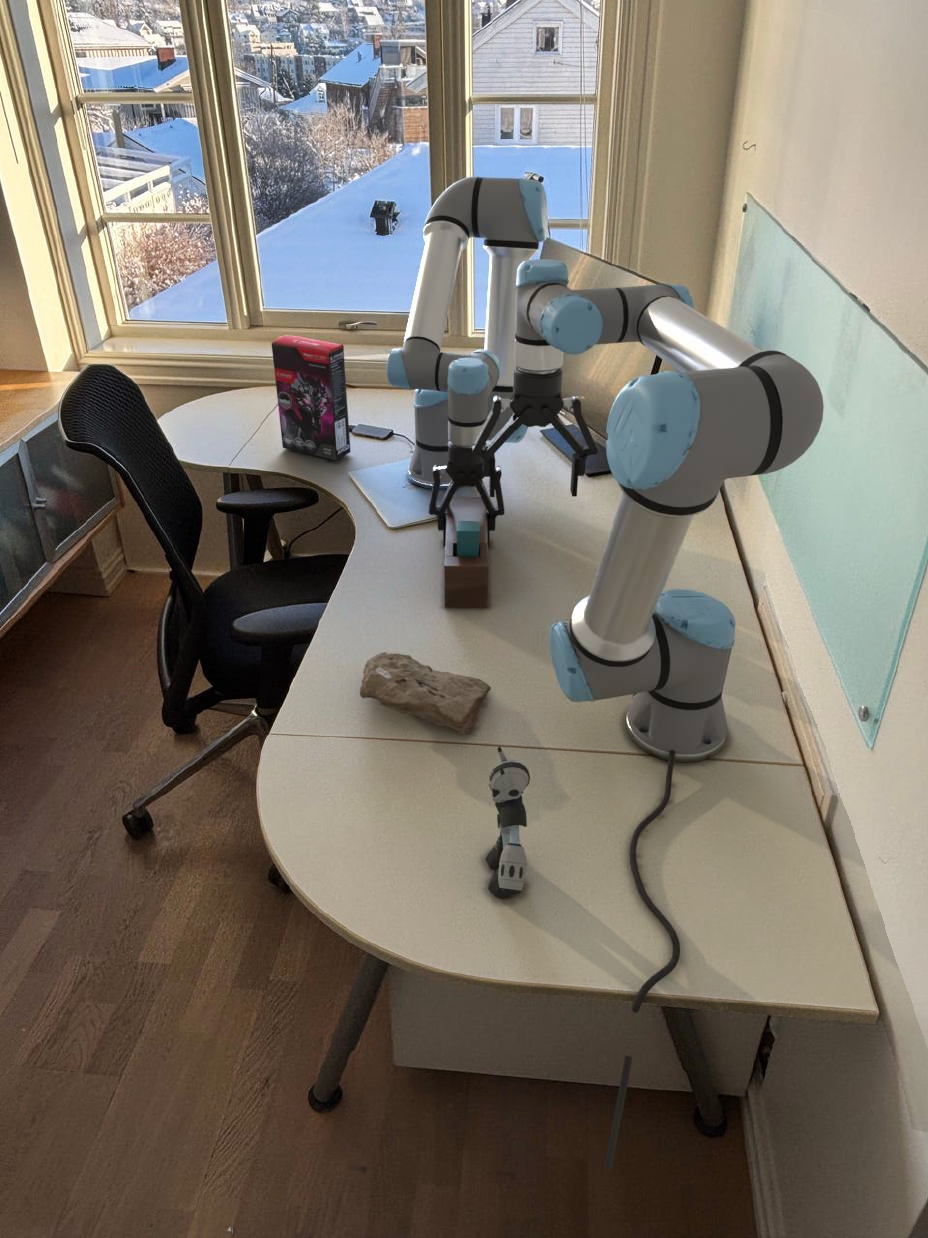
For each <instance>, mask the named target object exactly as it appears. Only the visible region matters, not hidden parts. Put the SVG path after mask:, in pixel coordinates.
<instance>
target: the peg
mask: <svg viewBox="0 0 928 1238" xmlns="http://www.w3.org/2000/svg"><path fill="white" fill-rule="evenodd" d="M457 557H479V521H457Z"/></svg>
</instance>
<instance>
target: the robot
mask: <svg viewBox="0 0 928 1238" xmlns="http://www.w3.org/2000/svg"><path fill="white" fill-rule="evenodd" d="M497 752H498V755H499V758H500V762H499V763H498V764H497V765H496V766H494V767H493V769H491V772H490V773H489V775H488V788H489V790H490V791H491V800H492V801H493V802H494V806H495V808H496V810H497V812H498V814H496V820H497V828H498V829H499V836H498V838H497V840H496V842H495V844H494V845H493V846H492V848H491V850H490V851H489V852H488V854H487V855H486V857H485V861H486V863H487V865H488V867H489V868H490V869H491V870H493V871H495V872H493V874H492V876H491V878H490V880H489V883H488V886H487V890H488V891H490V893H491V894H492V895H493V896H494V897H495V898H500V899H509V898H512V897H514V896H516V895H518V894H520V893H522V891H523V888H524V884H525V878H526V877H525V876H526V869H527V856H526V851H525V847H524V846H523V845H522V844H521V840H520V826H521V827H523V828H527V827H528V820H527V810H526V807H525V804H524V803H523V796H522V794H524V791H525V789H526V788H528V786H529V785H530V781H531V775H530V771H529V769H528V767H527V766H526V765H524V764H522V763H521V762H520V761H517V760H515V759H507V756H506V755H505V753H504V751H503V749H502V747H501V746H498V747H497Z"/></svg>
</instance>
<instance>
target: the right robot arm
mask: <svg viewBox="0 0 928 1238" xmlns="http://www.w3.org/2000/svg"><path fill="white" fill-rule="evenodd" d="M569 283H570V280H569V269H568V265H567V264H566V263H565V262H563V261H561V260H557V259H550V258H549V259H548V258H547V259H546V258H537V259H536V258H535V259H531V260H528V261H525V262H523V263H521V264H520V265H519V267H518V270H517V280H516V286H515V290H516V311H515V350H514V364H515V365H516V366H517V367H516V368H515V369H514V380H513V395H512V398H511V399H505V398H500V396H498V395H496V396H494V398H493V404H492V409H491V411H490V413H489V415H488V417H487V419H486V421H485V423H484V424H483V426H482V428H481V430H480V432H479V434H478V436H477V438H476V440H475V441H474V443H473V445H472V452H473V455H474V456H480V457H482V458H483V475H484V478H489V485H488V486H489V490H488V493H489V496H490V498H496V493H495V468H496V456H495V455H496V453H497V451H499V449H500V448H501V447H503V445H504V444H505V443H504V442H505V441H506V440H507V439H508V438H509V437H510V436H511V435H512V434H513V433H514V431H516V430H517V429H518V428H519V427H520V426H521V425H522V424H523V425H525V426H526V427H528V428H533V427H540V428H546V427H547V426H549V425H551V426H552V427H553V429H555V430H556V431H557V432H558V433H559V434H560V436H561V437H562V438H563V439H564V440H565V442H566V443H567V444H568V445H569V446H570V448H571V449H572V450H573V451H574V452H572V457H571V474H570V487H569V488H570V495H571V497H574V498H575V497H578V485H579V484H578V483H579V477H583V476H585V473H586V463H587V462H586V461H587V459H588V457H589V456H591V455H593V456H595V455H597V454H598V452H599V450H598V447H597V444H596V442H595V439H594V437H593V435H592V432H591V431H590V428H589V426H588V424H587V421H586V420H585V417H584V415H583V412H582V402H581V399H580V397H579V395H577V394H572V396H571V397H566V398H563V397H562V384H563V369H562V368H561V367H562V366H563V364H564V354H567V355H581V354H583V353H586V352H587V351H589V350H590V349H592V348H594V347H595V346H596V345H609V344H621V343H622V344H623V343H639V344H641V345H643V346H644V347H645V348H646V349H648V351H650V352H652V353H653V354H655V355H656V356H657V357H659V358H660V359H661V360H662V361H664V363H666V364H668V365H669V366H670V367H672V368H673V369H674V370H664V371H660V372H658V373H656V374H649V375H642V376H638V377H635V378H634V379H631V380H630V381H629V382H628V383H627V384H625V385H624V386H623V387H622V388H621V390H620V391H619V392H618V394H617V395H616V397H615V399H614V401H613V403H612V406H611V408H610V411H609V414H608V418H607V423H606V431H605V432H606V433H607V436H608V437H607V440H606V441H605V451H606V452H605V453H606V459H607V463H608V467H609V470H610V472H611V474H612V476H613V478H614V479H615V480H616V482H617V485H618V486H619V488H620V490H621V491H622V493H621V495H620V500H619V502H618V506H617V508H616V512H615V515H614V517H613V521H612V525H611V527H610V530H609V534H608V537H607V541H606V543H605V546H604V550H603V552H602V556H601V559H600V563H599V565H598V569H597V572H596V574H595V578H594V581H593V585H592V588H591V589H590V590H591V591H590V594H589V595H587V596H586V597H584V598H582V599H581V600H580V601H579V602H578V603H577V604H576V605H575V607H574V609H573V611H572V613H571V616H570V620H567V621H564V620H560V621H559V622H555V623H552V624H551V626H550V628H549V634H548V643H549V644H548V645H549V651H550V656H551V657H550V658H551V664H552V668H553V671H554V674H555V677H556V680H557V683H558V685H559V688H560V690H561V692H562V693H563V695H564V697H566V698H567V700H569V701H571V702H573V703H582V702H583V703H584V702H591V703H594V702H596V701H601V700H607V699H612V698H617V697H624V696H629V695H632V697H631V698H633V699H632V701H631V702H630V704H629V706H628V708H627V711H626V719H625V728H626V732H627V734H628V736H629V738H630V739H631V741H632V742H634V744H636V745H637V746H638V747H639V748H640V749H641V750H643V751H645V752H646V753H648V754H650V755H651V756H654V757H656V758H659V759H662V760H666V761H667V767H666V774H665V775H666V776H665V787H664V788H665V789H664V794H663V797H662V799H661V802H660V803H659V805H658V806H657V807H656V808H655V809H654V810H653V811H652V812H651V813H650V814H649V815H647V816H646V817H645V818H644V819H642V821H640V823H639V824H638V825H637V826H636V828H635V830H634V831H633V834H632V837H631V841H630V845H629V863H630V864H629V865H630V869H631V873H632V877H633V880H634V884H635V886H636V890H637V891H638V892H637V893H638V894H639V896H640V898H641V900H642V901H643V902H644V904H645V906H646V907H647V908H648V909H649V910H650V912H651V913H652V914H653V915H654V916H655V917H656V919H657V920H658V921H659V922H660V924H661V925H662V926H663V927H664V929H665V930H666V932H667V933H668V935H669V938H670V940H671V944H672V956H671V958H670V959H669V961H668V963H667V964H666V965H664V967H662V968H661V969H660V970H658V971H657V972H655V974H653V975H652V976H651V977H649V978H648V979H647V980H646V981H645V983H643V985H642V986H641V987H640V988H639V990H638V992H637V993H636V996H635V998H634V1000H633V1002H632V1005H631V1012H633V1013H634V1014H636V1013H639V1011H640V1008H641V1006H642V1003H643V1001H644V999H645V997H646V996H647V994H648V993H649V991H650V990H651V989H653V987H654V986H655V985H656V984H658V982H660V981H661V980H663V979H664V978H666V976H668V975H670V973H672V971H674V969H675V968H676V967H677V965H678V964H679V960H680V958H681V943H680V940H679V937H678V936H679V935H678V934H677V932H676V930H675V928H674V927H673V925H672V924H671V923H670V921H669V920H668V919H667V918H666V916H665V915H664V914H663V913H662V912H661V911H660V910H659V908H658V907H657V906H656V905H655V904H654V903H653V901H652V900H651V898H650V897H649V895H648V893H647V891H646V889H645V887H644V884H643V880H642V878H641V873H640V870H639V866H638V861H637V847H638V842H639V838H640V836H641V834H642V832H643V831H644V829H645V828H647V826H648V825H649V824H650V823H652V821H654V820H655V819H657V817H658V816H660V815H661V814H662V812H663V811H664V810H665V809H666V807H667V805H668V804H669V801H670V799H671V798H670V797H671V794H672V785H673V784H672V783H673V781H672V780H673V773H674V766H675V765H674V764H675V763H694V762H700V761H703V760H706V759H709V758H711V757H714V755H716V754H718V752H720V751H721V750H722V748H723V747H724V744H725V743H726V740H727V739H726V738H727V733H728V721H727V716H726V712H725V708H724V707H725V706H724V701H723V692H724V686H725V682H726V678H727V672H728V668H729V664H730V659H731V654H732V651H733V650H732V649H733V647H734V645H735V637H736V636H735V635H736V618H735V616H734V614H733V612H732V611H731V609H730V608H729V607H728V606H727V605H726V604H725V603H723V602H722V601H720V600H719V599H717V598H715V596H711V595H709V594H707V593H704V592H701V591H699V590H698V591H697V590H694V589H689V588H688V589H687V588H673V589H667V590H664V588H665V586H666V584H667V581H668V579H669V576H670V574H671V572H672V570H673V567H674V564H675V561H676V560H677V557H678V554H679V552H680V550H681V547H682V545H683V543H684V540H685V538H686V535H687V533H688V531H689V529H690V526H691V523H692V521H693V520H694V519H693V518H694V516H696V515H699V514H702V513H704V512H705V511H707V510H708V509H709V508H710V507H711V506H712V505H713V504H714V503H715V501H716V499H717V497H718V495H719V493H720V490H721V488H722V485H723V484H724V482H725V481H726V480H727V479H735V478H743V477H750V476H760V475H767V474H771V473H774V472H779V470H783V469H785V468H786V467H788V466H790V465H792V464H794V463H795V462H796V461H797V460H799V458H801V457H802V456H803V455H804V454H806V453H807V451H808V450H809V449H810V447H811V446H812V445H813V444H814V442H815V440H816V438H817V436H818V434H819V432H820V429H821V426H822V423H823V419H824V411H825V410H824V408H825V407H824V406H825V405H824V399H823V396H824V395H823V393H822V391H821V390H822V389H821V387H820V385H819V382H818V381H817V379H816V377H815V376H814V375H813V374H812V373H811V372H810V370H809V369H808V368H806V367H805V366H804V365H803V364H802V363H800V362H799V361H798V360H796V359H794V358H792V357H791V356H789V355H788V354H786V353H784V352H782V351H779V350H775V349H765V350H761V349H759V348H757V347H756V346H755V345H753V344H752V343H750V342H748V341H746V340H745V339H744V338H741V337H740V336H738V335H737V334H735V333H734V332H731V331H730V330H728V329H727V328H726V327H724V326H722V325H721V324H719V323H717V322H716V321H714V320H713V319H711V318H709V317H707V316H706V315H704V314H702V313H701V312H700V311H698V310H696V309H695V305H694V300H693V297H692V296H691V295H690V291H689V289H688V288H687V287H686V286H685V285H682V284H677V283H675V284H671V283H663V282H662V283H656V284H648V285H634V286H620V287H618V286H617V287H603V288H587V289H586V288H585V289H571V288H570V287H568V285H569ZM507 407H510V408H511V409H512V411H513V412H514V414H513V415H512V416H511V417H510V419H509V421H508V422H507V423H506V424H505V425H504V426H503V428H502V429H501V430H500V431H499V432H498V433H497V434H496V435H495V436H494V438H493V439H492V440H491V441H487V439H488V437H489V435H490V433H491V432H492V430H493V428H494V426H495V424H496V422H497V420H498V418H499V416H500V413H503V412H504V411H505V410H506V408H507ZM564 407H565V408H567V410H568V413H572V414H573V416H574V419H575V421H576V423H577V426H578V428H579V430H580V432H581V434H582V437H583V440H584V441H585V443H586V445H583V444H582V443H581V442H580V441H579V439H577V437H576V436H575V435H574V434H573V432H572V431H571V430H570V428H569V427H568V426H567V425H566V424H565V423H564V421H563V420H562V419H561V417H560V415H559V414H560V412H561V411H562V410H563V408H564ZM487 442H488V443H487ZM485 443H487V445H486V446H485V447H484V445H485ZM633 1059H634V1057H633V1056H631V1055H624V1060H623V1066H622V1072H621V1077H620V1082H619V1088H618V1093H617V1099H616V1105H615V1109H614V1115H613V1119H612V1125H611V1131H610V1136H609V1141H608V1146H607V1152H606V1158H605V1162H604V1169H605V1170H606V1171H611V1170H612V1167H613V1163H614V1162H613V1161H614V1156H615V1153H616V1152H615V1151H616V1146H617V1141H618V1136H619V1131H620V1125H621V1120H622V1116H623V1110H624V1106H625V1101H626V1100H625V1099H626V1094H627V1090H628V1084H629V1080H630V1073H631V1069H632V1062H633Z"/></svg>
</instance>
